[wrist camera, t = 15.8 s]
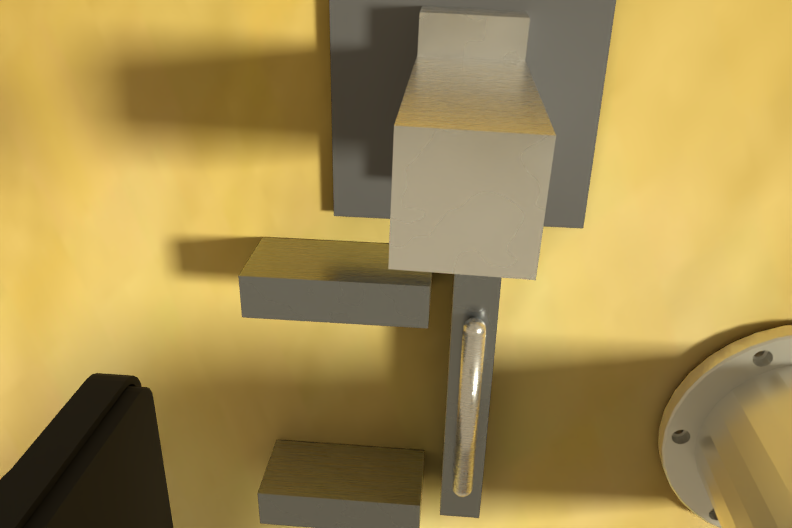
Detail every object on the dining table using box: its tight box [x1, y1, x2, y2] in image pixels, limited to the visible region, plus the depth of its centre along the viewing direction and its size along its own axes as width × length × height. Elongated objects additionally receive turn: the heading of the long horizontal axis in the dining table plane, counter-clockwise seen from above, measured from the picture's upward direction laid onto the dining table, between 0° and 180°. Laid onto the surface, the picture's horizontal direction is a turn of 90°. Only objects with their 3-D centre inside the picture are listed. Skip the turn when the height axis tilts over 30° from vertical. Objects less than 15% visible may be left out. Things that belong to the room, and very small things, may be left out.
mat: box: [329, 0, 616, 228], centre depth 30 cm, size 11×11×1 cm
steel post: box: [388, 6, 556, 280], centre depth 24 cm, size 4×7×12 cm, turn 178°
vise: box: [239, 237, 501, 528], centre depth 35 cm, size 11×14×4 cm
